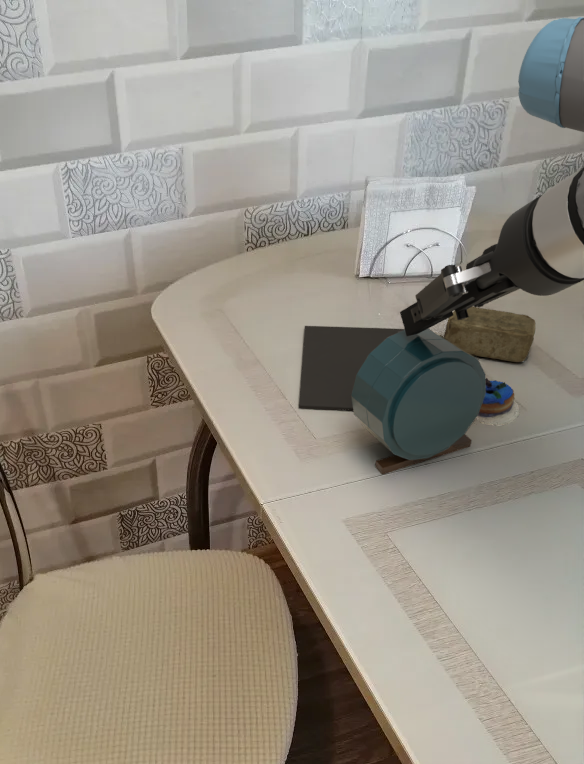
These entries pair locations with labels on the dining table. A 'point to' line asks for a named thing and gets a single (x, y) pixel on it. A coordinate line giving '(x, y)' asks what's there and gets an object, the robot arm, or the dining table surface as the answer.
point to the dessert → (498, 404)
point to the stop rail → (399, 462)
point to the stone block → (492, 334)
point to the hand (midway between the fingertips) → (409, 322)
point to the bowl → (418, 393)
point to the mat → (335, 363)
